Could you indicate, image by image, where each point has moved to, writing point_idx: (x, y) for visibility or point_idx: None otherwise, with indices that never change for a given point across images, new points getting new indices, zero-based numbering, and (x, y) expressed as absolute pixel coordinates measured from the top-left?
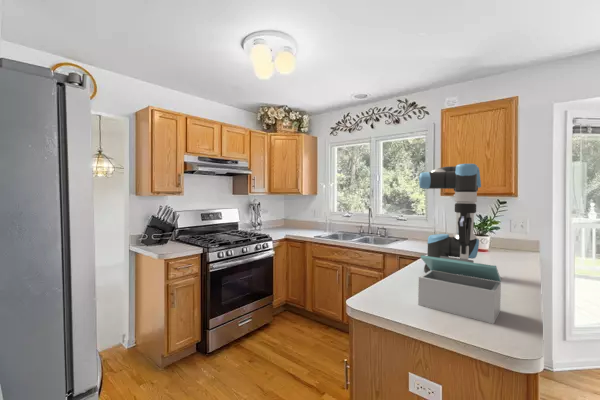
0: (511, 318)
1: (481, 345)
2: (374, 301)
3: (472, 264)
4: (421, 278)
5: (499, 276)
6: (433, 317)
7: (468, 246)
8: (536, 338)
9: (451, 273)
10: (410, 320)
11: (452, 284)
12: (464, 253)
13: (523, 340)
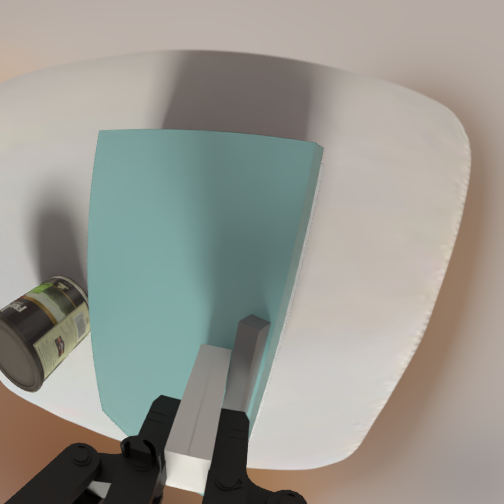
0: (213, 112)
1: (454, 214)
2: (290, 445)
3: (282, 319)
4: (253, 431)
5: (139, 130)
6: (339, 329)
7: (177, 448)
8: (348, 73)
9: (43, 324)
10: (381, 368)
11: (281, 340)
12: (246, 422)
13: (382, 108)
